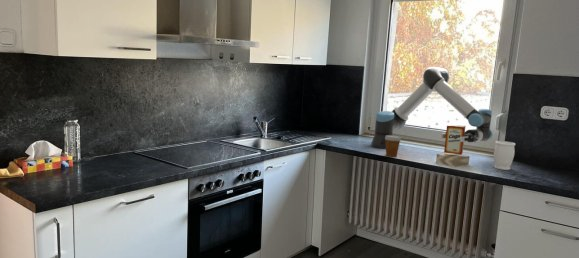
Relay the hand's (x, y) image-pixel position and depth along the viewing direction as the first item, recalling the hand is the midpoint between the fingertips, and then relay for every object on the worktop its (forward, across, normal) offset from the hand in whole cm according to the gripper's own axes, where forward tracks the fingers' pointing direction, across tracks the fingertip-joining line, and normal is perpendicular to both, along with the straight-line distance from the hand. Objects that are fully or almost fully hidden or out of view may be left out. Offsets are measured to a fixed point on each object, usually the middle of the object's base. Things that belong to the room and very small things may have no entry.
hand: (450, 137), depth 255 cm
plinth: (-4, 0, -16) cm, 16 cm away
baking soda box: (-4, 0, -9) cm, 10 cm away
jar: (-22, -20, -16) cm, 34 cm away
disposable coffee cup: (+14, +30, -16) cm, 37 cm away
